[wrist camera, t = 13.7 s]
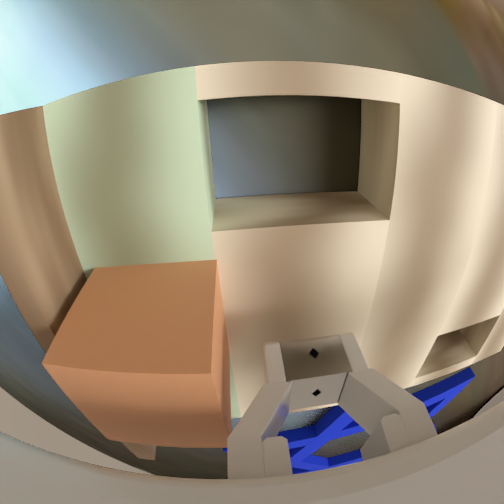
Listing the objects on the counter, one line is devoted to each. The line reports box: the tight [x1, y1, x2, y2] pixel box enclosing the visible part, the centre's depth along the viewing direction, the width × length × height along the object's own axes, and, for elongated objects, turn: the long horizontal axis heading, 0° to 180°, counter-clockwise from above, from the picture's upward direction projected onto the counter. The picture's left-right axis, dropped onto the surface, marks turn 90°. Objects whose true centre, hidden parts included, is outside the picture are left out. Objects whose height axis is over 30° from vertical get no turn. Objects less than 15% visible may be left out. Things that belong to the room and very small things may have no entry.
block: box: [42, 259, 232, 448], centre depth 9 cm, size 4×4×4 cm
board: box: [0, 61, 504, 460], centre depth 11 cm, size 27×17×6 cm, turn 93°
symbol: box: [223, 367, 475, 474], centre depth 26 cm, size 26×2×30 cm
